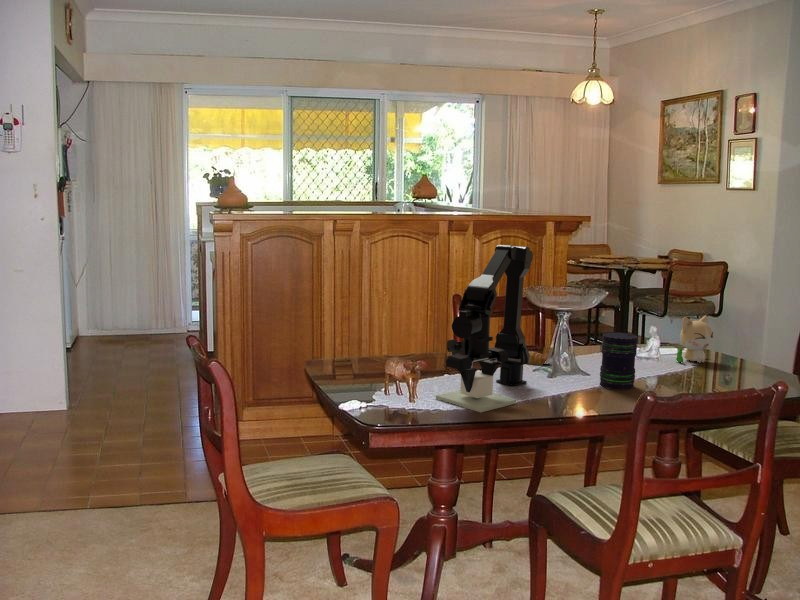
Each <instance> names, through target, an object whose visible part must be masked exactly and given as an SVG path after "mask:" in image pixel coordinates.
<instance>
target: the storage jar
mask: <svg viewBox="0 0 800 600" xmlns="http://www.w3.org/2000/svg"><path fill="white" fill-rule="evenodd" d="M637 340H638V336H637V334H634V333H629V332H619V331H610V332H609V331H607V332H604V333H602V342H601V350H600V351H601V355H602V356H601V365H600V368H599V371H600V372H599V380H600V381H599V386H600V385H601V386H602V387H601V386H600V387H601V388H603V387H604V389H607V390H612V391H613V390H614V391H631V390H633V389H634V388H635V385H634V383H635V379H636V368H635V363H636V356H637V350H638V341H637Z"/></svg>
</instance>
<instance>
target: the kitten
mask: <svg viewBox="0 0 800 600" xmlns="http://www.w3.org/2000/svg"><path fill="white" fill-rule="evenodd" d="M679 341H680V343H681V345H682V346H683V347H684V348H685V349H686V350H685V351H684V355H683V356H682V354H683V347H681V348H679V349H678V351H677V353H676V359H675V361H676V360H677V361H678V362H683V363H684V359H685V360H686V361H689V360H690V362H694V361H697V363H698V362H699V363H698V364H700V363H705V362H706V354H705V351H704V350H706V349H708V348H710V347H711V346H712V344H713V342H714V332H713V330H712V328H711V326H710V325H709V324H708V316H707V315H706V314H705V315H703V317H701V318H700V319H699V320H692V319H690V318H689V317H687V316H684V317H683V319H682V328H681V330H680V334H679Z"/></svg>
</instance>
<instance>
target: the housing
mask: <svg viewBox="0 0 800 600" xmlns="http://www.w3.org/2000/svg"><path fill="white" fill-rule="evenodd" d="M493 387H494V375H493V376H491V375H487V374H483V373H482V372H478V371H476V372H475V376H474V380H473V385H472V388H471V391H470V392H466V389H465V386H464V382H463V379H462V376H461V375H460V389H459V390H460V394H464V395H467V396H471V397H474V398H480V397H485V396H489V395H492V393H493V391H494V390H493Z"/></svg>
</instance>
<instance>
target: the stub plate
mask: <svg viewBox="0 0 800 600" xmlns="http://www.w3.org/2000/svg"><path fill="white" fill-rule="evenodd" d="M435 399H436V400H438V399H439V400H438V401H441V400H443V401H442V402H444V401H446V402H445V403H447V402H449V403H448V404H451V403H453V404H452V405H454V404H456V405H455V406H457V405H459V406H458V407H461V406H462V407H461V408H465V409H468V410H471V411H473V412H474V411H475V412H478V413H484V412H488V411H491V410H496V409H500V408H503V407H507V406H511V405H515V404H517V399H516V398H512V397H508V396H504V395H502V394H498V393H492V395H489V396H485V397H480V398H474V397H471V396H467V395H464V394H460V389H457V390H454V391H449V392H445V393H441V394H436V395H435Z"/></svg>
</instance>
